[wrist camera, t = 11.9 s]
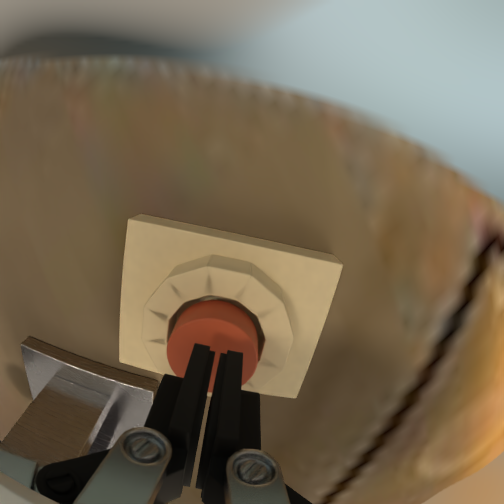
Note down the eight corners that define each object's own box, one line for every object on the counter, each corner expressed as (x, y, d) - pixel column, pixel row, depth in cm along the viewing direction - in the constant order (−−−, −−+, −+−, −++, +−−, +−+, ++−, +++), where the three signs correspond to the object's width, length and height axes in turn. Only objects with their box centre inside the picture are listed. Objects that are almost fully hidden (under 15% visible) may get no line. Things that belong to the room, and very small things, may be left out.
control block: (128, 346, 17) (107, 381, 14) (140, 213, 15) (111, 225, 12) (293, 380, 18) (300, 420, 14) (334, 254, 16) (355, 277, 12)
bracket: (45, 412, 19) (-18, 508, 8) (29, 335, 17) (-73, 437, 6) (154, 452, 20) (119, 577, 8) (158, 380, 18) (96, 545, 6)
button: (171, 360, 14) (162, 382, 12) (180, 291, 13) (170, 309, 11) (247, 376, 14) (247, 400, 12) (266, 308, 13) (267, 329, 11)
